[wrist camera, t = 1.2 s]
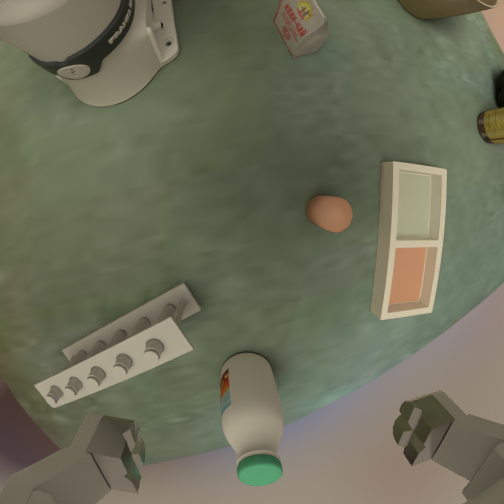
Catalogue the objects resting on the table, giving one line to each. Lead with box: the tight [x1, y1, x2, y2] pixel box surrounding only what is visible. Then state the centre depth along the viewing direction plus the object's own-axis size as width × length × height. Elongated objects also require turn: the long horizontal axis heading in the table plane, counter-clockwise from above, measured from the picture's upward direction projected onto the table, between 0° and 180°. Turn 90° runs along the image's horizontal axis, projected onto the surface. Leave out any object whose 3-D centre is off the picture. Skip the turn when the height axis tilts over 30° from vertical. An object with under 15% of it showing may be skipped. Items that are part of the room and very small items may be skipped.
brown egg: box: [306, 195, 353, 232], centre depth 36 cm, size 4×4×6 cm
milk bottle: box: [221, 353, 284, 486], centre depth 33 cm, size 8×8×20 cm
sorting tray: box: [370, 161, 447, 320], centre depth 39 cm, size 22×10×4 cm, turn 0°
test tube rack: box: [34, 282, 201, 408], centre depth 33 cm, size 25×4×13 cm, turn 118°
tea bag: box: [273, 0, 330, 58], centre depth 28 cm, size 4×7×10 cm, turn 22°
